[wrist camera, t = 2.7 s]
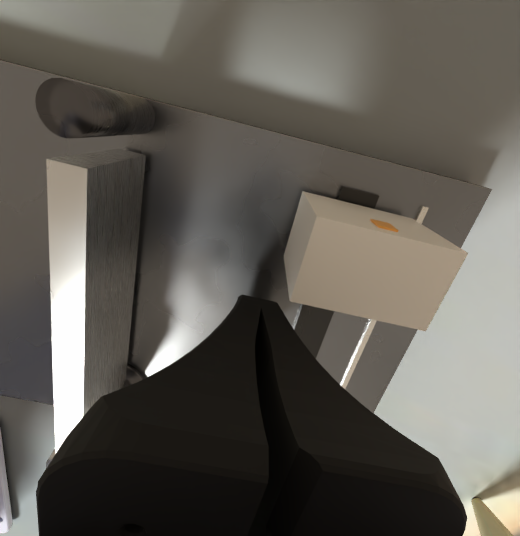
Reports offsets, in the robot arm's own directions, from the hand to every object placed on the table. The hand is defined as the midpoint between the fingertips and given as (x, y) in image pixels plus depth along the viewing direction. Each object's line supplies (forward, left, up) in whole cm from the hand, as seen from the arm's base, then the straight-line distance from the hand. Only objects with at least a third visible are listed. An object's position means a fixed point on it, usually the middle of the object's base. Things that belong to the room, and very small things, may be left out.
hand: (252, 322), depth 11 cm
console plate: (0, +3, -2) cm, 4 cm away
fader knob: (+4, -2, -1) cm, 4 cm away
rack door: (-1, +5, -1) cm, 5 cm away
